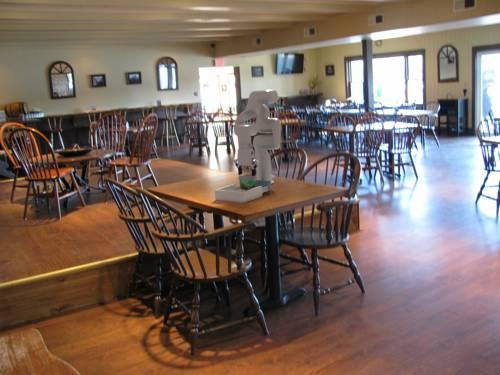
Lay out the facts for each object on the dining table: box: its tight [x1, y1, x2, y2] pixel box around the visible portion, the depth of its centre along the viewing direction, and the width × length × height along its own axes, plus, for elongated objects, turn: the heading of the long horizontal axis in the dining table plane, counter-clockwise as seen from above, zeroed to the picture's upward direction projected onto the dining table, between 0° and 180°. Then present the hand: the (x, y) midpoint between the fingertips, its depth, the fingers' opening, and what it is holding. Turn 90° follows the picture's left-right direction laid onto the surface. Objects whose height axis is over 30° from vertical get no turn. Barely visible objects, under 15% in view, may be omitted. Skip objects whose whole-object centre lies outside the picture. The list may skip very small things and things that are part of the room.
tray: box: [228, 179, 272, 194], centre depth 303 cm, size 18×20×6 cm
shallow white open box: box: [214, 183, 263, 204], centre depth 295 cm, size 19×20×6 cm
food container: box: [238, 173, 257, 191], centre depth 302 cm, size 12×6×10 cm, turn 133°
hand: (247, 175), depth 302 cm, fingers open, 9 cm apart
